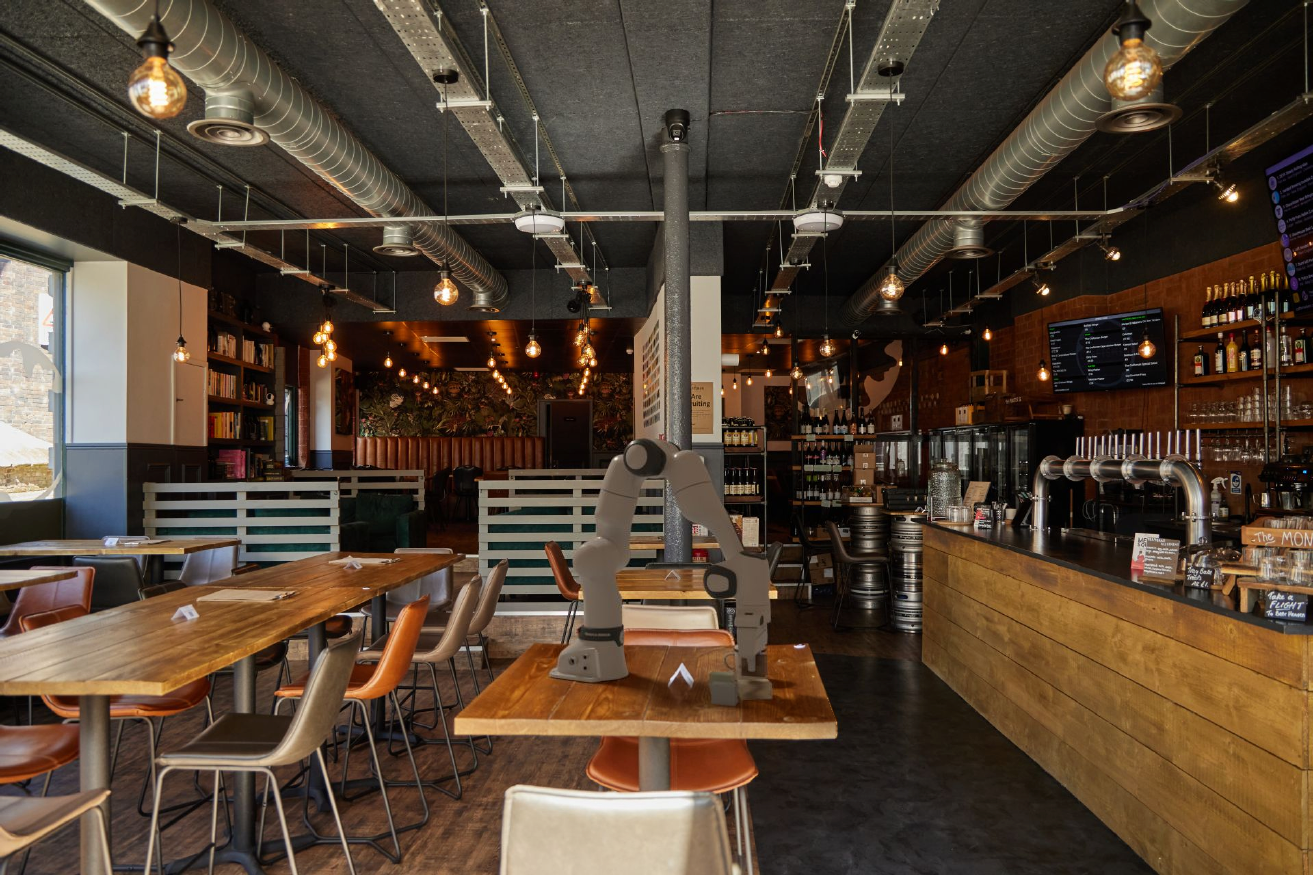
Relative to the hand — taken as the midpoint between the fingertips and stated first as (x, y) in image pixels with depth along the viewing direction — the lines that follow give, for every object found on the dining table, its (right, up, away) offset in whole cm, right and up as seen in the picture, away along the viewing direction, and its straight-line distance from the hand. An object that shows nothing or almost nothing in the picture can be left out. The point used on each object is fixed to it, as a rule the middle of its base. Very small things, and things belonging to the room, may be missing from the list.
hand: (754, 668), depth 221 cm
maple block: (0, -7, 0) cm, 7 cm away
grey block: (-8, -7, -6) cm, 12 cm away
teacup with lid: (0, -8, +18) cm, 19 cm away
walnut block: (0, -2, 0) cm, 2 cm away
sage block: (-8, -8, +4) cm, 12 cm away
